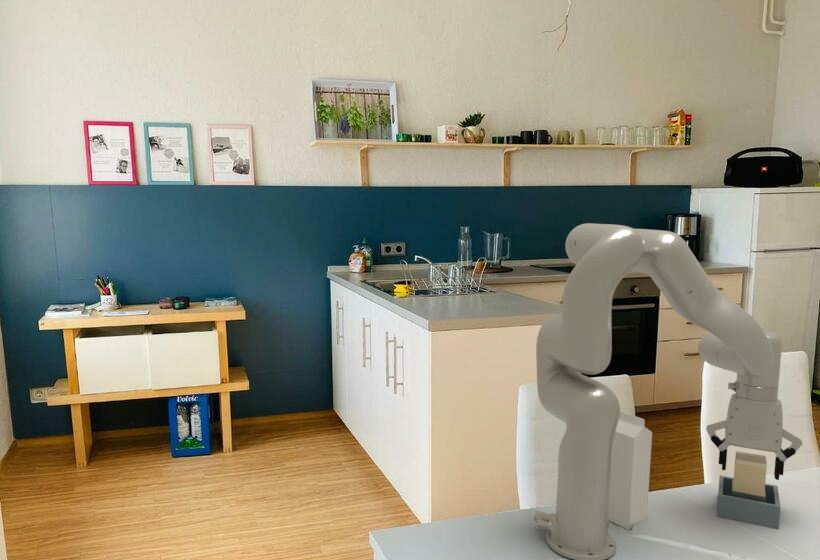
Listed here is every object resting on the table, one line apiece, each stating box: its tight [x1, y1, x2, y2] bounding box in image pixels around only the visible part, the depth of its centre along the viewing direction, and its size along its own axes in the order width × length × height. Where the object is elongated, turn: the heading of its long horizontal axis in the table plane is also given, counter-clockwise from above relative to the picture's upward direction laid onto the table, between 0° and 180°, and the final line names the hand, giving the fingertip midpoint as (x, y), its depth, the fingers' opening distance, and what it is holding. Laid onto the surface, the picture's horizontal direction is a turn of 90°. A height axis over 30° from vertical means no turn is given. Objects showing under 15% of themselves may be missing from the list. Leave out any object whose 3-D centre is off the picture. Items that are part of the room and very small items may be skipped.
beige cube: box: [733, 450, 768, 496], centre depth 134 cm, size 6×6×6 cm
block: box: [731, 480, 766, 503], centre depth 135 cm, size 6×6×5 cm
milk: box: [608, 411, 653, 531], centre depth 131 cm, size 6×6×22 cm
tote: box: [716, 474, 781, 530], centre depth 135 cm, size 11×11×6 cm
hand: (749, 472), depth 134 cm, fingers open, 9 cm apart
